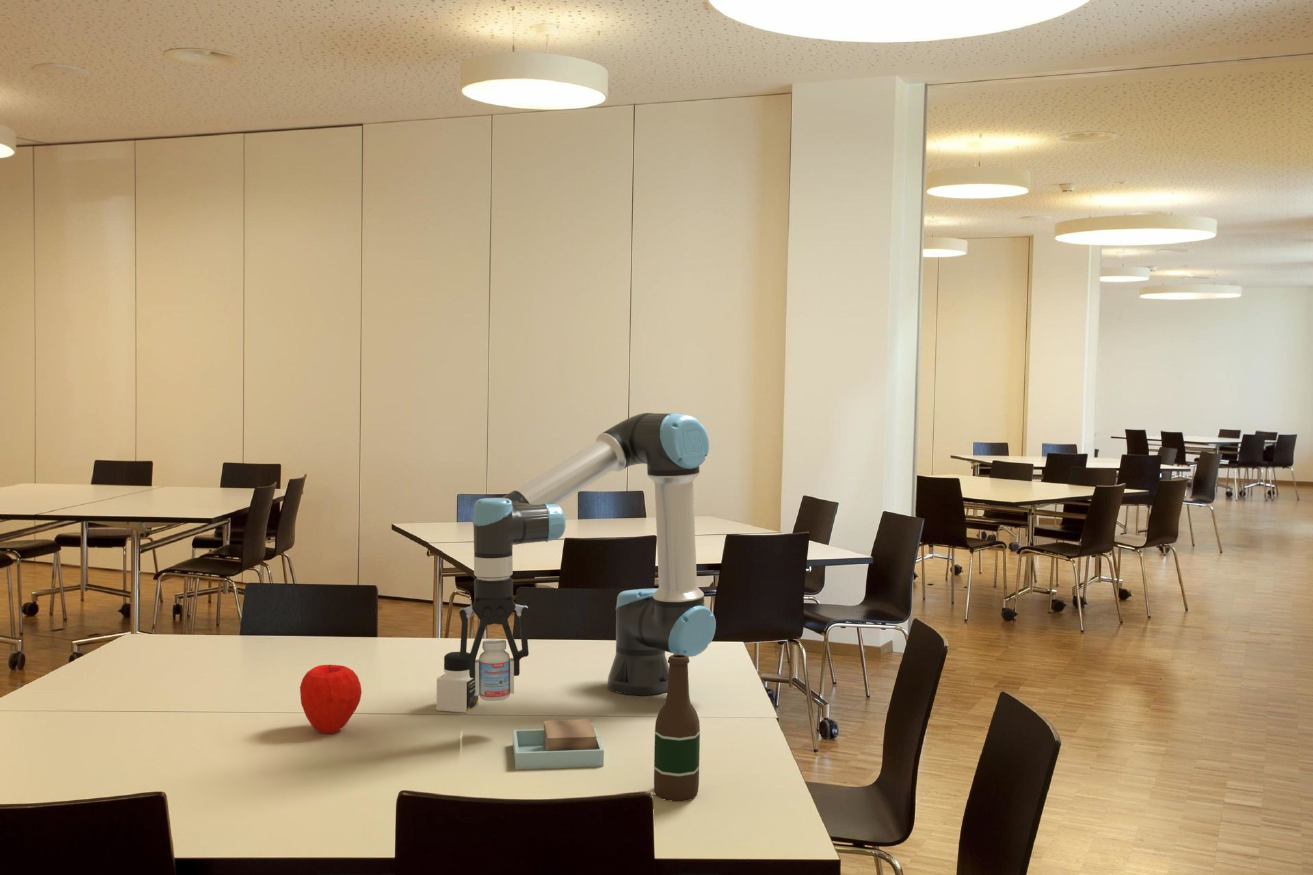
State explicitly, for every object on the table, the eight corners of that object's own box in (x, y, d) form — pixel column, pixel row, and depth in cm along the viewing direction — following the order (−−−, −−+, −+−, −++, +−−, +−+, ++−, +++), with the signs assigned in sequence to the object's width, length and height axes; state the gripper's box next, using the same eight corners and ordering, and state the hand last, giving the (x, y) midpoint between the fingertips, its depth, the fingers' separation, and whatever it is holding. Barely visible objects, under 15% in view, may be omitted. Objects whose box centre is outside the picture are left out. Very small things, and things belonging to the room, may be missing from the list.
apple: (372, 725, 226) (372, 660, 225) (337, 742, 215) (338, 674, 214) (323, 719, 230) (323, 655, 229) (287, 735, 218) (287, 668, 218)
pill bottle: (485, 703, 214) (484, 646, 214) (475, 695, 220) (474, 639, 219) (514, 699, 217) (514, 642, 217) (504, 691, 223) (503, 636, 222)
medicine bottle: (467, 713, 236) (467, 657, 235) (435, 710, 237) (436, 655, 237) (479, 704, 243) (479, 650, 242) (448, 702, 244) (449, 648, 244)
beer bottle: (651, 786, 193) (654, 650, 192) (695, 785, 194) (698, 650, 193) (655, 802, 186) (658, 661, 185) (701, 802, 186) (704, 661, 185)
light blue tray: (595, 745, 216) (595, 727, 216) (603, 769, 202) (603, 750, 202) (512, 747, 213) (513, 729, 213) (515, 772, 199) (515, 753, 199)
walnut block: (590, 744, 214) (590, 719, 214) (596, 763, 203) (596, 736, 203) (543, 746, 213) (543, 720, 212) (547, 765, 202) (547, 738, 202)
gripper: (540, 572, 222) (541, 685, 224) (444, 575, 219) (446, 689, 221) (543, 578, 215) (544, 695, 216) (443, 581, 212) (445, 700, 213)
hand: (494, 692), depth 218 cm, fingers closed on pill bottle, 6 cm apart
